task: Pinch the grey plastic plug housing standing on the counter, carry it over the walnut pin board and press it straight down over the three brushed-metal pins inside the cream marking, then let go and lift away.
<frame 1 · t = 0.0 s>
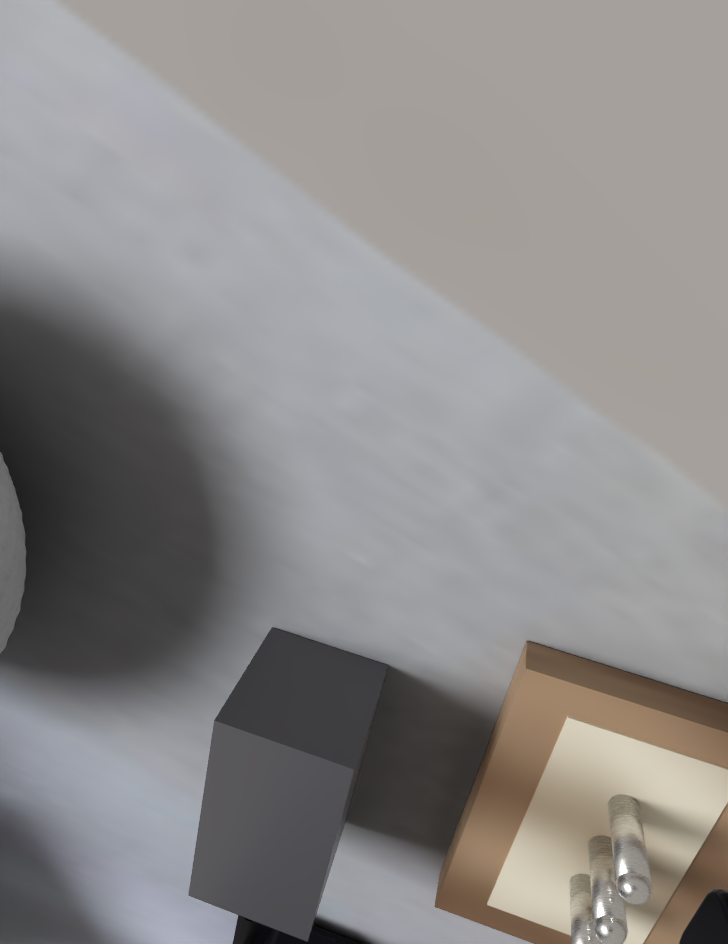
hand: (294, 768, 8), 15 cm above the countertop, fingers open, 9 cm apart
plug housing: (310, 730, 27), on the countertop
header pins: (599, 808, 25), resting on pin board
pin board: (599, 808, 25), on the countertop
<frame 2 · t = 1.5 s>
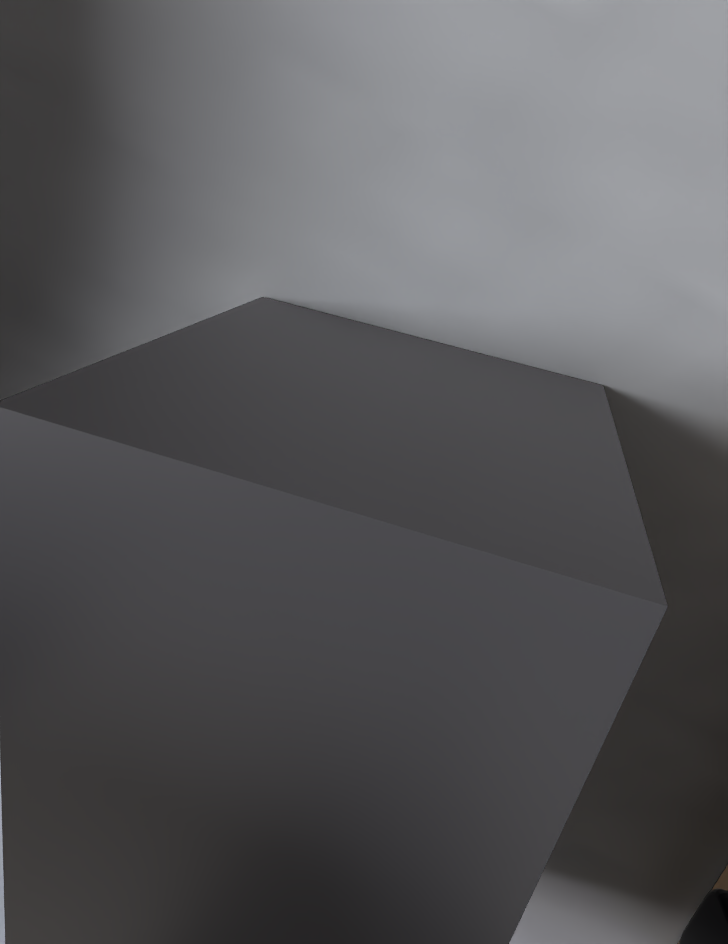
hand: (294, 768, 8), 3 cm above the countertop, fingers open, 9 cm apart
plug housing: (362, 605, 11), on the countertop
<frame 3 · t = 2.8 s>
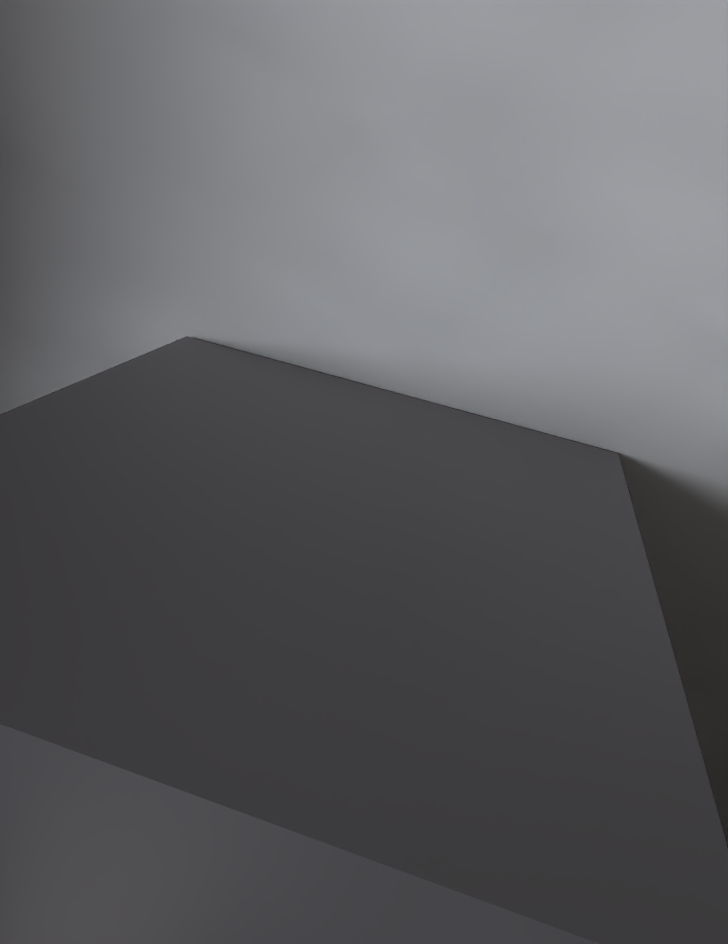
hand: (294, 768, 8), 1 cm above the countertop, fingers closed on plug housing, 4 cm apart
plug housing: (320, 706, 9), on the countertop, touching gripper
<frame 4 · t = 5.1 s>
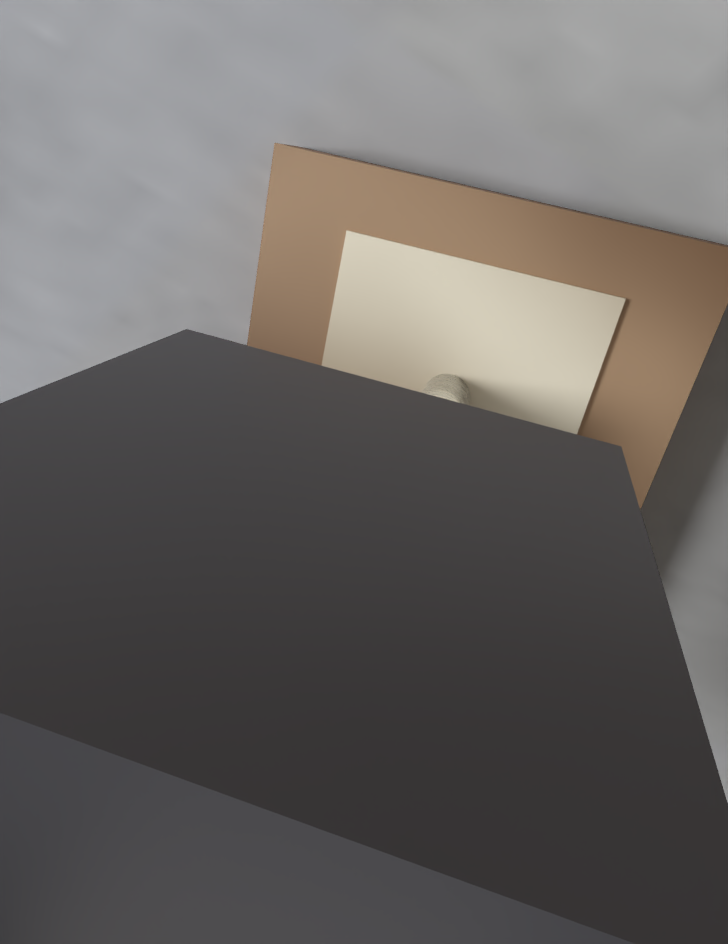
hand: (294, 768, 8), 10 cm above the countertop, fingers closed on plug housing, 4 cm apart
plug housing: (321, 702, 9), point 9 cm above the countertop, touching gripper
header pins: (434, 456, 17), resting on pin board
pin board: (434, 456, 17), on the countertop
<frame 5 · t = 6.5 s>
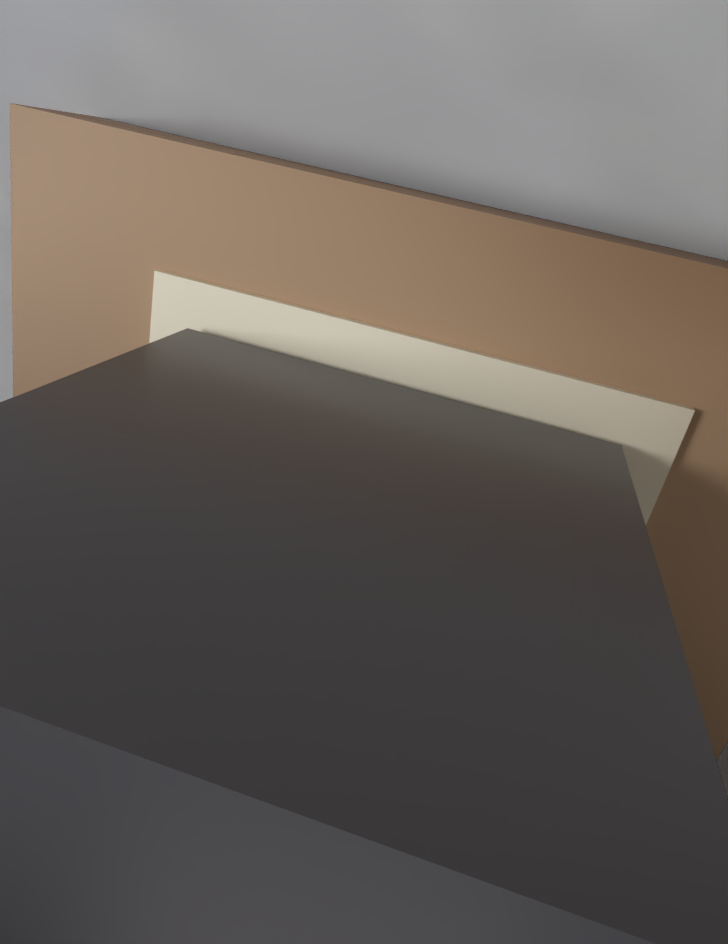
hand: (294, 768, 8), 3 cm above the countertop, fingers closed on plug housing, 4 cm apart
plug housing: (322, 701, 9), point 2 cm above the countertop, touching gripper
pin board: (356, 628, 10), on the countertop
when the fingers open (3 cm above the countertop, at t = 7.5 s): plug housing stays where it is, resting on pin board.
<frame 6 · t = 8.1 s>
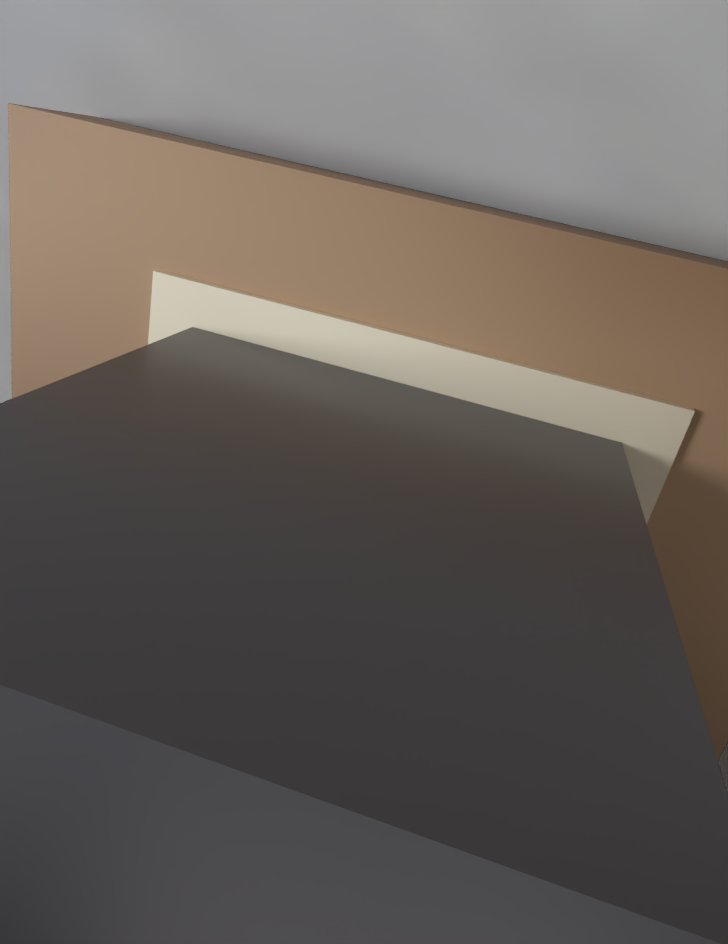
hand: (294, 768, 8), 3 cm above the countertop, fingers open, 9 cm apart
plug housing: (324, 696, 9), point 2 cm above the countertop, touching pin board
pin board: (355, 629, 10), on the countertop
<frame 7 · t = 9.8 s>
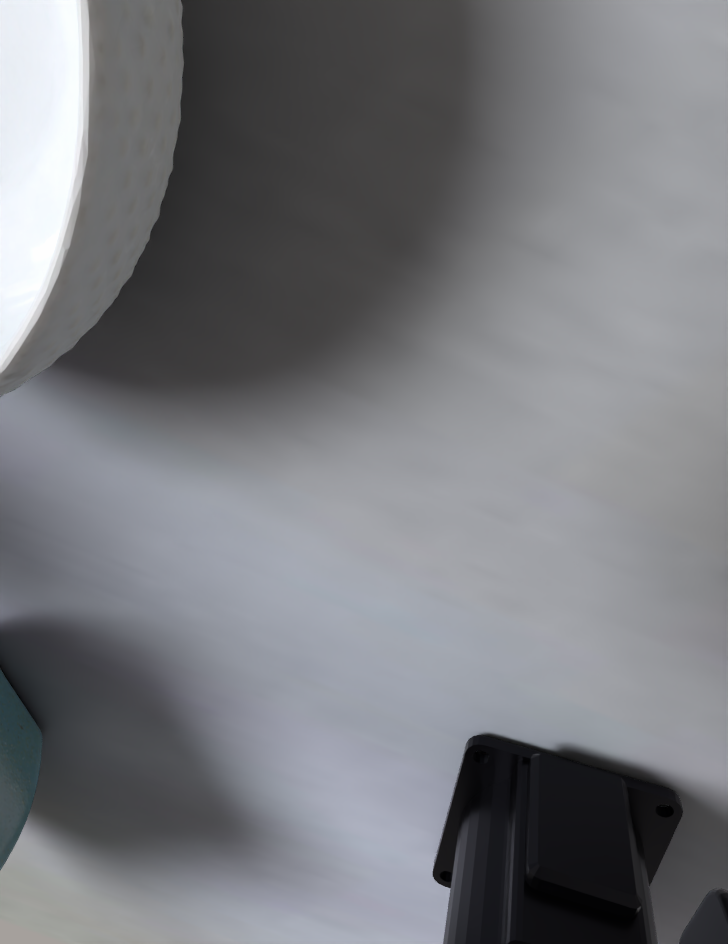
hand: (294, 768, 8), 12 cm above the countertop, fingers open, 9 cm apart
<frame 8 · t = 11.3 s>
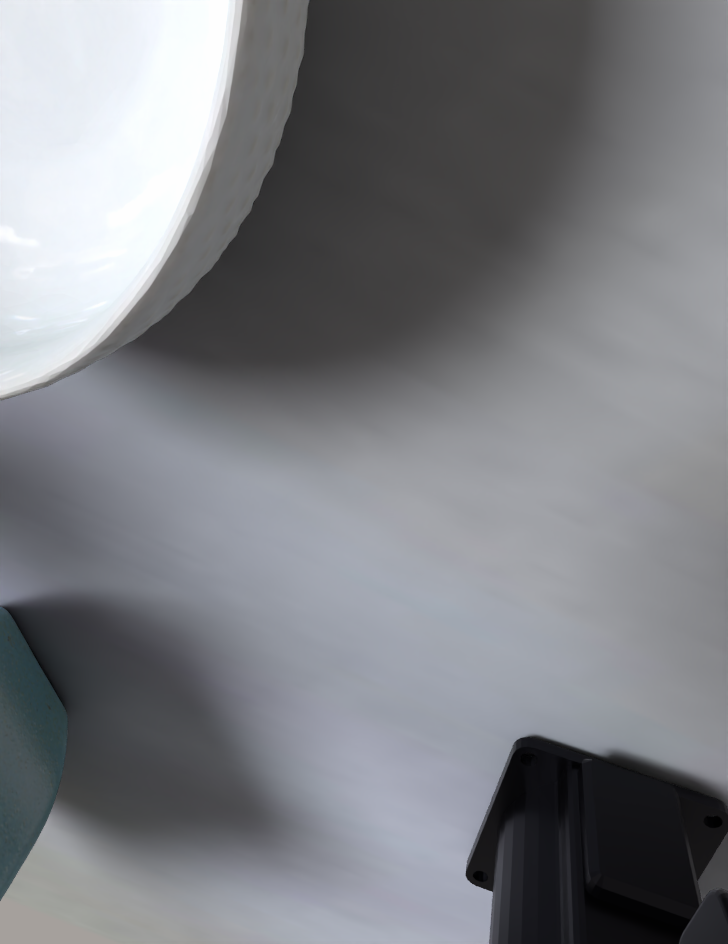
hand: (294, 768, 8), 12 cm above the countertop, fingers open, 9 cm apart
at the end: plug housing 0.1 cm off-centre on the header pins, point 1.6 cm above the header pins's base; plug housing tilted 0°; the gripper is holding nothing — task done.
